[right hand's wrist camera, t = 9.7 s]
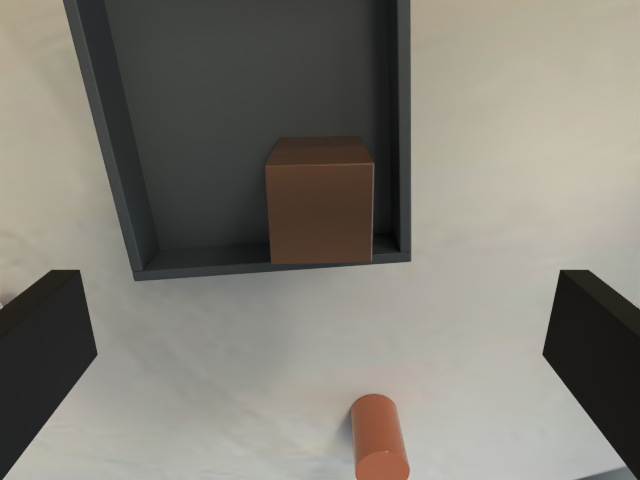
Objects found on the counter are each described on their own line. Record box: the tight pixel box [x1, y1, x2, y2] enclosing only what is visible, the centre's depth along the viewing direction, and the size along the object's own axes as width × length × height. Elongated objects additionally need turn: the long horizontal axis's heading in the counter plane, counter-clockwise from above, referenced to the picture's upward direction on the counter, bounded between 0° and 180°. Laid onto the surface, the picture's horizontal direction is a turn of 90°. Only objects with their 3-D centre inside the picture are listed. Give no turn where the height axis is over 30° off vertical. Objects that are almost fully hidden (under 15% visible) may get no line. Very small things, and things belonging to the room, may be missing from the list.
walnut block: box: [265, 136, 374, 264], centre depth 23 cm, size 4×4×7 cm
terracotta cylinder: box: [350, 394, 410, 480], centre depth 42 cm, size 5×5×7 cm
